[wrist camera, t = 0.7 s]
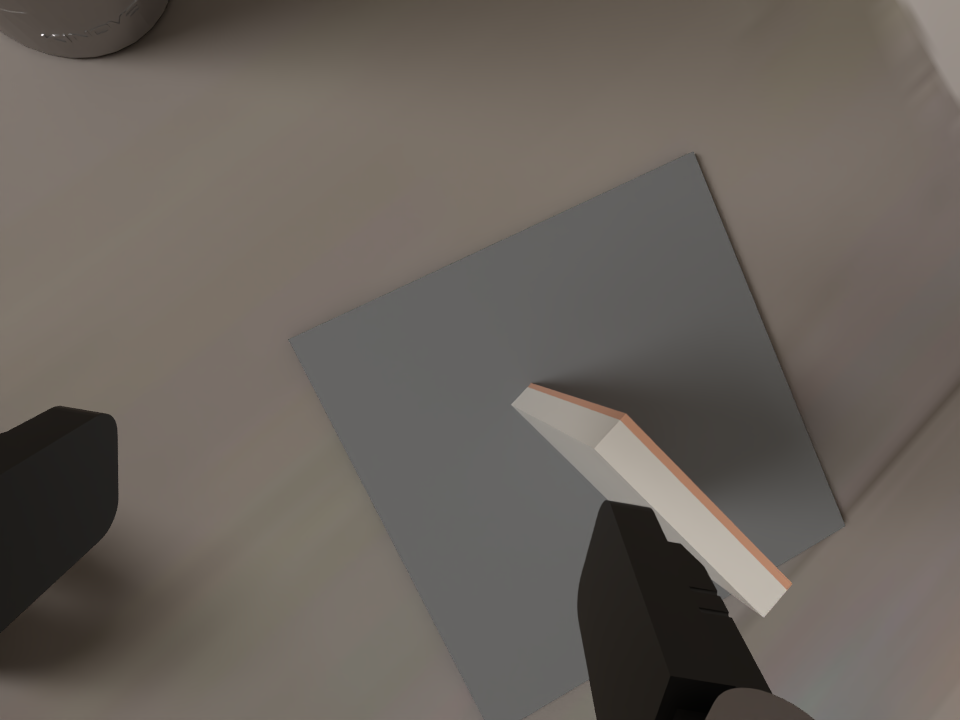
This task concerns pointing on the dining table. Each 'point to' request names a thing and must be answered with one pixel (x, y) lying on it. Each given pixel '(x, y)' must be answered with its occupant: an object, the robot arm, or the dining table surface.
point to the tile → (653, 489)
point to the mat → (573, 371)
